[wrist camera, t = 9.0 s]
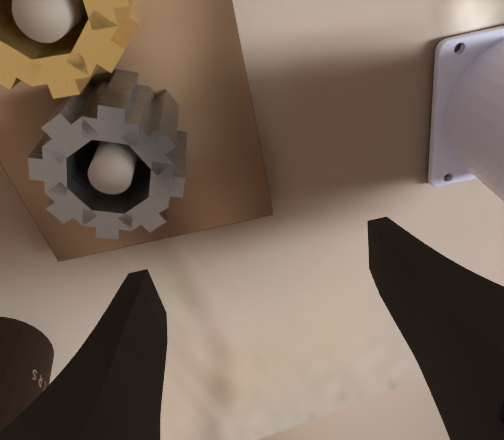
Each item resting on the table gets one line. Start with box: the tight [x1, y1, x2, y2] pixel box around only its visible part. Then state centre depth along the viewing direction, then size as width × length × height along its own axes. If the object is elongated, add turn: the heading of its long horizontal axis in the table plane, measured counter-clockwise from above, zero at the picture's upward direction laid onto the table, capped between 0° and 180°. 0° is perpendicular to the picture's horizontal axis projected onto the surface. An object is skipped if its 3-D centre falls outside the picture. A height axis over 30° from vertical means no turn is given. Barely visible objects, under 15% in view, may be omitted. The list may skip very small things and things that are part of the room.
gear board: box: [0, 0, 273, 262], centre depth 17 cm, size 12×18×6 cm, turn 11°
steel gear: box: [28, 69, 187, 239], centre depth 18 cm, size 6×6×4 cm
